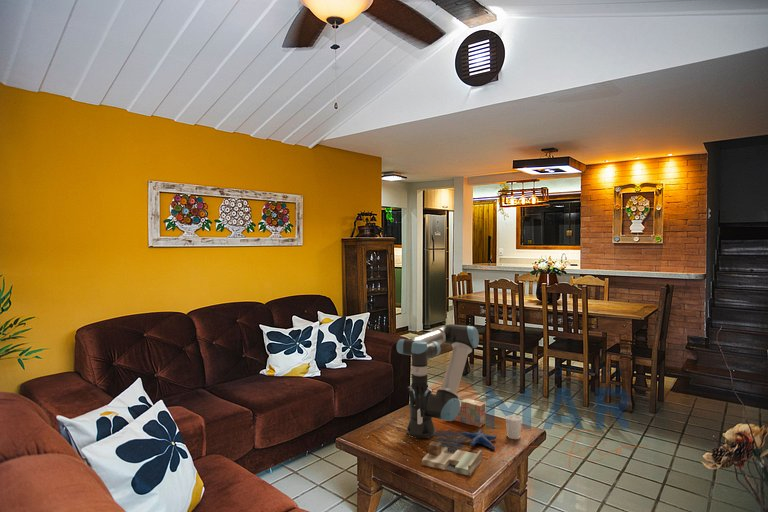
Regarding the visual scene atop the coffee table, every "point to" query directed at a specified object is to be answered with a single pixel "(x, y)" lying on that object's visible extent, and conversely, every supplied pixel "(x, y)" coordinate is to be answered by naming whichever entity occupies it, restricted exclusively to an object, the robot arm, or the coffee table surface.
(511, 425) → the white cup
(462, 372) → the robot arm
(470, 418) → the stack of blocks
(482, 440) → the starfish
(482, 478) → the coffee table surface
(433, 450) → the walnut cube
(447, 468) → the board
